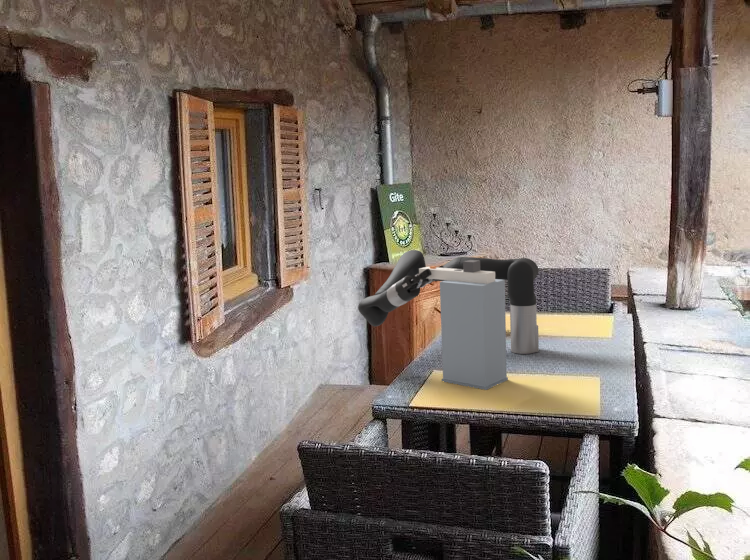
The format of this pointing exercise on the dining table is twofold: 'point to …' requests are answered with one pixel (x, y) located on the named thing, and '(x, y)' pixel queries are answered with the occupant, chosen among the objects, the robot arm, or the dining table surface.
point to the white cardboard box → (462, 273)
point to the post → (473, 333)
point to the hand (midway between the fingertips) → (436, 269)
